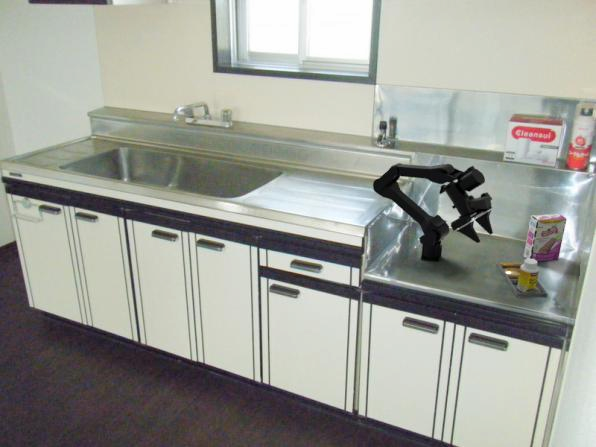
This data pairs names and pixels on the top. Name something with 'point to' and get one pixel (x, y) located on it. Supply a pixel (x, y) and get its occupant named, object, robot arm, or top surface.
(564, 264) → the top surface
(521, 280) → the supplement bottle
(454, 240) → the top surface
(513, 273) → the rack
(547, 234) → the candy bar box
